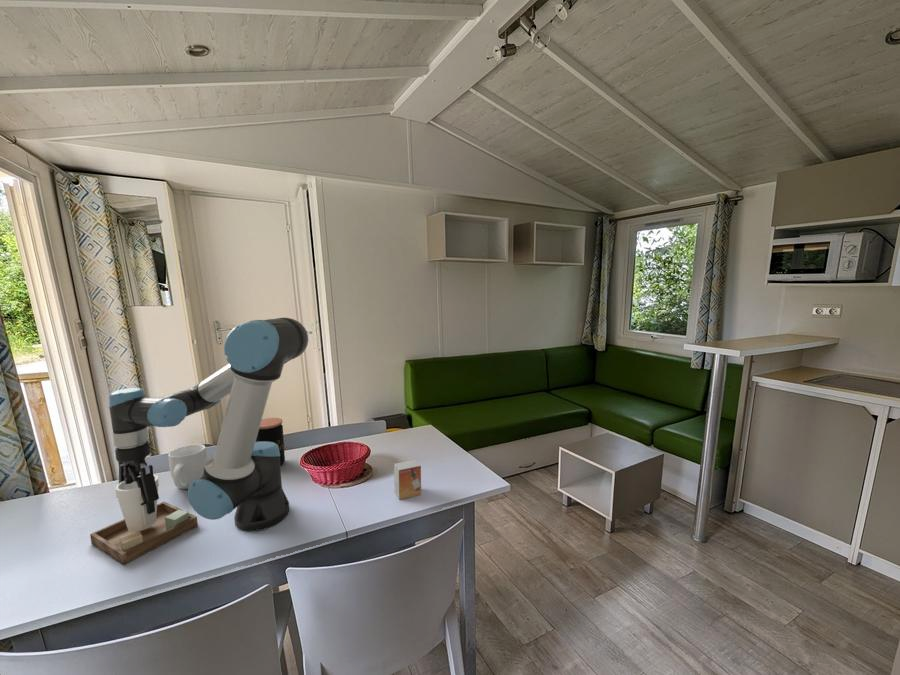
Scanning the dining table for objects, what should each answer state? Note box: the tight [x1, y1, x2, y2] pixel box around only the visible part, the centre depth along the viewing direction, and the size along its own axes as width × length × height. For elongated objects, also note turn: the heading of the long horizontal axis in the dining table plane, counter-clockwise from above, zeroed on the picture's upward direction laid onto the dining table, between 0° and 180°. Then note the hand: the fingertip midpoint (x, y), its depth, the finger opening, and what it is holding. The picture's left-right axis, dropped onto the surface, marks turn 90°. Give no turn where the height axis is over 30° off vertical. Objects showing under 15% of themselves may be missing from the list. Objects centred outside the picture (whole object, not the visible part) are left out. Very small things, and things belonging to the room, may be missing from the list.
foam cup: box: [114, 473, 160, 532], centre depth 107 cm, size 10×9×13 cm
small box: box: [393, 459, 422, 500], centre depth 127 cm, size 8×6×10 cm
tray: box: [89, 501, 199, 566], centre depth 107 cm, size 18×18×3 cm
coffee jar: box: [256, 417, 286, 467], centre depth 148 cm, size 11×11×18 cm
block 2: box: [165, 509, 190, 530], centre depth 109 cm, size 4×4×4 cm
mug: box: [167, 443, 208, 490], centre depth 132 cm, size 15×11×13 cm
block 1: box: [120, 530, 143, 552], centre depth 99 cm, size 4×4×4 cm
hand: (141, 518), depth 107 cm, fingers closed on foam cup, 9 cm apart
